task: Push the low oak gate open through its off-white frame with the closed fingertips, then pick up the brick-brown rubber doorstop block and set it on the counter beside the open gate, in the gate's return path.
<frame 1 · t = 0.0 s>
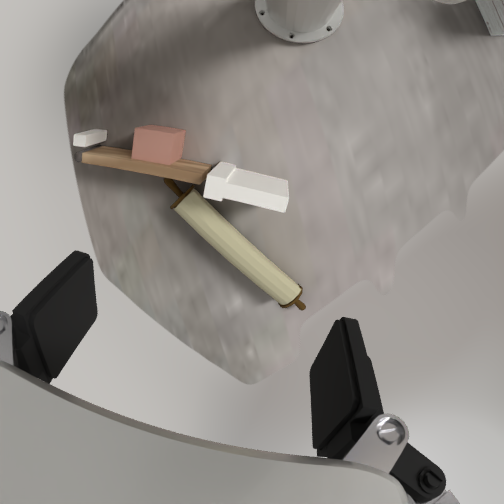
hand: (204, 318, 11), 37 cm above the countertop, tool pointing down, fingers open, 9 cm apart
door: (140, 161, 42), point 3 cm above the countertop, hinge at 0.0°
doorstop: (165, 141, 44), on the countertop
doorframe: (99, 149, 45), on the countertop
supplement box: (493, 17, 26), on the countertop
rolling pin: (241, 241, 51), on the countertop
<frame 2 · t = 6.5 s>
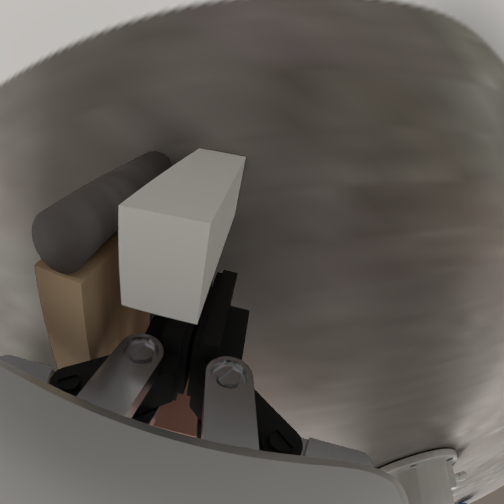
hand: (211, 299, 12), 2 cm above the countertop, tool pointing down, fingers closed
grapes: (457, 503, 47), on the countertop
door: (116, 380, 13), point 3 cm above the countertop, hinge at 4.5°, touching gripper
doorstop: (197, 377, 17), on the countertop
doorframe: (154, 171, 11), on the countertop
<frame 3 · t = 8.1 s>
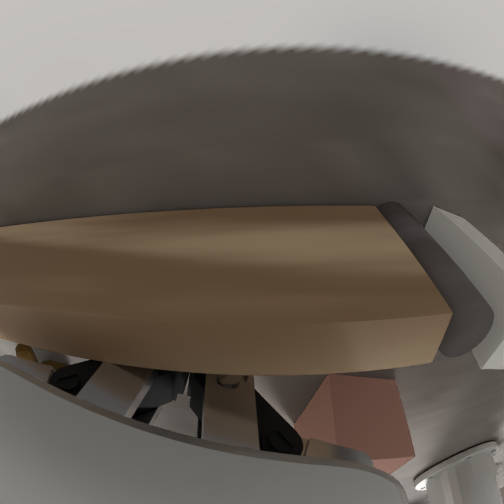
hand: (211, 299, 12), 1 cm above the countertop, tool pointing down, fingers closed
door: (113, 268, 9), point 3 cm above the countertop, hinge at 74.3°, touching gripper
doorstop: (342, 404, 17), on the countertop
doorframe: (389, 221, 11), on the countertop
rolling pin: (124, 440, 24), on the countertop
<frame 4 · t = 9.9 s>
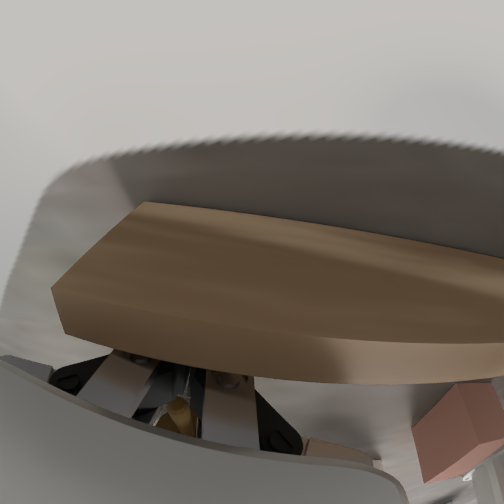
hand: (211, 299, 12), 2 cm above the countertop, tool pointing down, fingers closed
door: (420, 295, 9), point 3 cm above the countertop, hinge at 84.1°
doorstop: (451, 406, 18), on the countertop
rolling pin: (232, 466, 24), on the countertop
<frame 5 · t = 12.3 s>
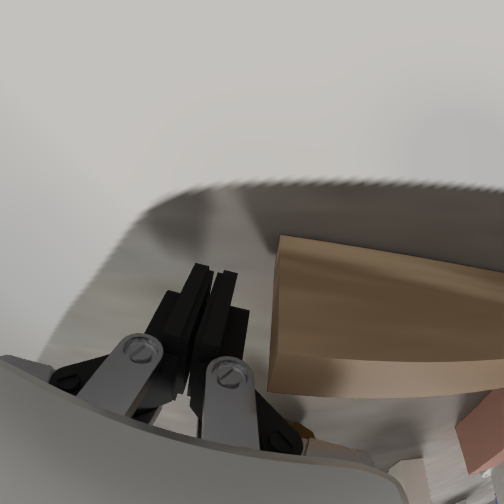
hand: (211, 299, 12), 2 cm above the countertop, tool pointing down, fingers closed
grapes: (496, 493, 47), on the countertop
doorstop: (489, 405, 18), on the countertop
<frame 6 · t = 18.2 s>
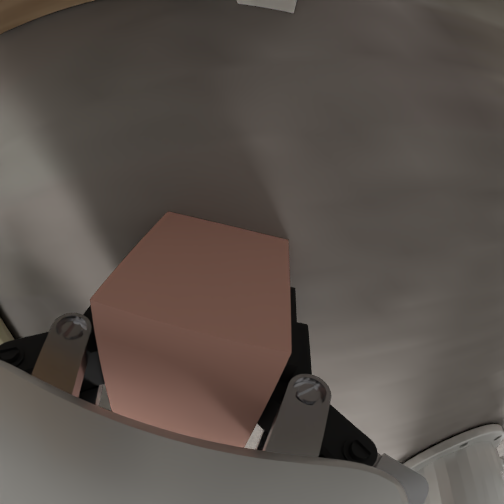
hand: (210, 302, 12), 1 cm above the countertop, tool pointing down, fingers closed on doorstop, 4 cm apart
doorstop: (213, 291, 12), on the countertop, touching gripper
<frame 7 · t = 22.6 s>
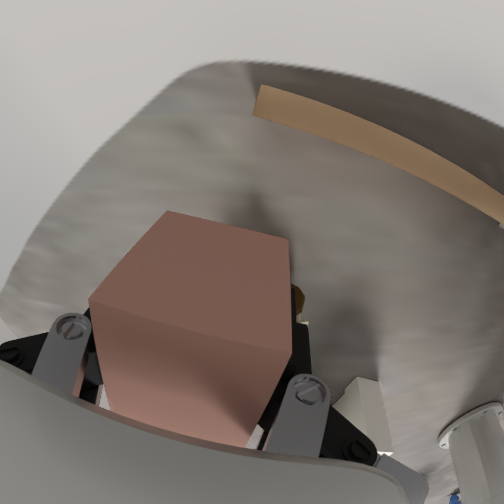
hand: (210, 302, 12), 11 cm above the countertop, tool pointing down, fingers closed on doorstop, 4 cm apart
grapes: (450, 495, 58), on the countertop
door: (427, 165, 15), point 3 cm above the countertop, hinge at 84.1°
doorstop: (213, 291, 12), point 10 cm above the countertop, touching gripper
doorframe: (494, 204, 19), on the countertop
when the fingers open (3 cm above the countertop, at t = 24.5 s): doorstop drops 2 cm, on the countertop.
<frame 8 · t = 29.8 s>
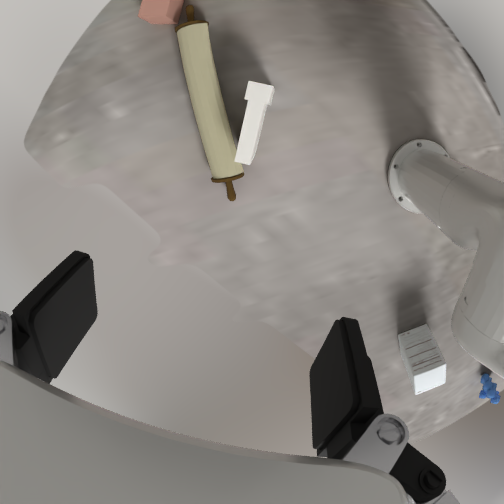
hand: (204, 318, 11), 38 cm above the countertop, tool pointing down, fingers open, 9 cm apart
grapes: (480, 376, 65), on the countertop
doorstop: (168, 8, 34), on the countertop
supplement box: (413, 338, 59), on the countertop
rolling pin: (213, 99, 42), on the countertop
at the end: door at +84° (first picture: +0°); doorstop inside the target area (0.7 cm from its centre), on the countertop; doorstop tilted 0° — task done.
